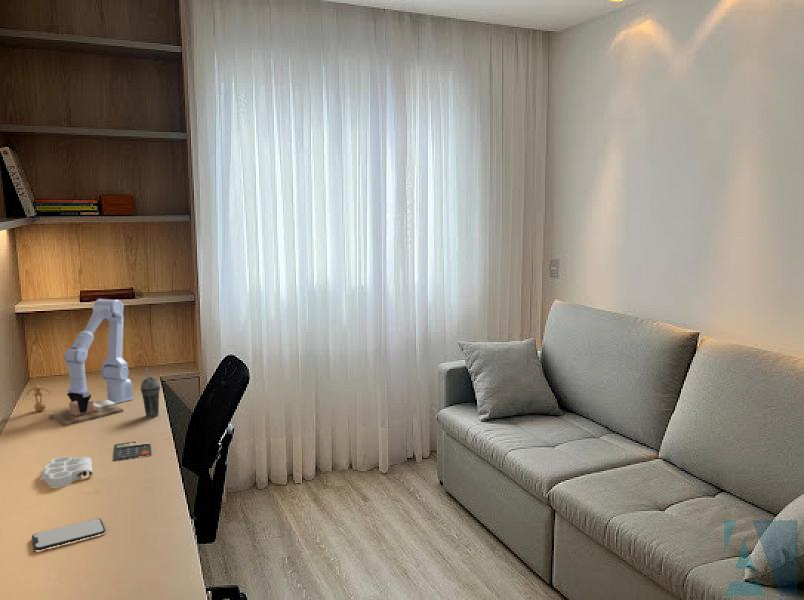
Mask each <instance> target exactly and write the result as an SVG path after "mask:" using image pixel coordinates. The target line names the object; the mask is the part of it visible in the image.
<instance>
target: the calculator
mask: <svg viewBox="0 0 804 600" xmlns="http://www.w3.org/2000/svg"><path fill="white" fill-rule="evenodd" d="M131 442H132V443H136V441H129V442H124V443H123V442H122V443H116V444H114V449H113V457H112V458H113V459H112V461H113V462H115V461H116V462H118V461H125V460H130V459H129V458H132V459H136V458H135V457H139V456H146V457H148V456H147V455H151V456H152V443H151V444H141V445H133V446H130V445H124V444H129V443H131ZM150 445H151V446H150ZM139 458H140V457H139ZM124 459H125V460H124ZM117 460H118V461H117Z"/></svg>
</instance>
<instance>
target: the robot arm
mask: <svg viewBox="0 0 804 600" xmlns="http://www.w3.org/2000/svg"><path fill="white" fill-rule="evenodd" d="M105 319H106V320H107V321H108V322H109V324H108V346H107V348H108V349H107V351H108V353H107V358H106V360H104V361H103V363H102V368H101V371H100V375H101V377H102V379H104V381H105V383H106V393H107V398H106V399H108V400H110V401H112V402H115V403H116V404H119V403H123V402H128V401H132V400H134V395H133V383H132V380H131V379H130V378H128V377H129V373H130V370H129V368H128V362H127V361H126V360H125V359H124V358H123V343H124V341H123V339H124V303H123V302H122V301H121V300H119V299H104V298H103V299H102V298H98V299H96V300H95V302H94V303H93V305H92V314H91V316H90V317H89V321H88V323H87V324H86V327H85V328H84V330H82V331H79V333H78V334H77V336H76V338H75V340H74V342H73V344H72V345H71V347H69V348H68V349H66V350H65V352H64V354H63V360H64V362H66V366H67V368H68V378H69V385H67V387H68V388H67V390H66V392H67V393H66V395H67V397H68V398H69V400H70V402H73V401H77V403H78V406H79V410H80V413H84V412H86V411H87V406H88V402H89V399H90V400H91V398H92V394H90V391H89V389H88V387H87V377H86V368H85V366H86V365H85V362H86V360H87V359H88V354H89V353H88V352H89V348H90V347H91V345H92V343H93V341H94V339H95V336H94V334H95V332H96V330H97V329H98V328H99V326H100V324H101V323H102V322H103V320H105ZM106 399H105V398H104V400H106Z"/></svg>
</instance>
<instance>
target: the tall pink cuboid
mask: <svg viewBox="0 0 804 600" xmlns="http://www.w3.org/2000/svg"><path fill="white" fill-rule="evenodd" d="M93 402H94V400H92V399H91V398H90V399H89V402H88V406H87V411H86V412H84V413H80V410H79V406H78V403H77V401H73V402H71V401H69V402H68V404H69V405H68V406H69V410H70V413H71V414H73V415H74V416H77V415H81V414H85V413H89V412H94V410H93Z"/></svg>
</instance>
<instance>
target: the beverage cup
mask: <svg viewBox="0 0 804 600" xmlns="http://www.w3.org/2000/svg"><path fill="white" fill-rule="evenodd" d="M145 370H146V378H145V379H144V380H142V382H141V384H140V392H141V394H142V399H143V406H144V412H145V417H146V418H148V417H153V418H156V417H155V416H157V417H159V412H160V411H159V409H160V389H161V386H160V385H161V384H160V382H159V380H158V379H156V378H155V377H150V375H149V371H148V367H145Z"/></svg>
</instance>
